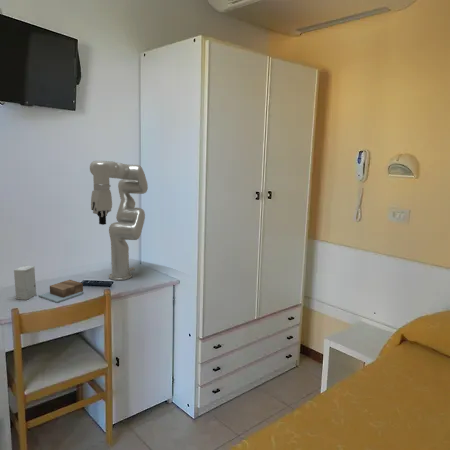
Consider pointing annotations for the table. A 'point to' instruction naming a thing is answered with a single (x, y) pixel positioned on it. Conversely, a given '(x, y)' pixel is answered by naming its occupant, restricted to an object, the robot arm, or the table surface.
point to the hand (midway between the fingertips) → (102, 224)
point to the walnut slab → (66, 288)
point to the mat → (57, 298)
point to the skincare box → (25, 282)
